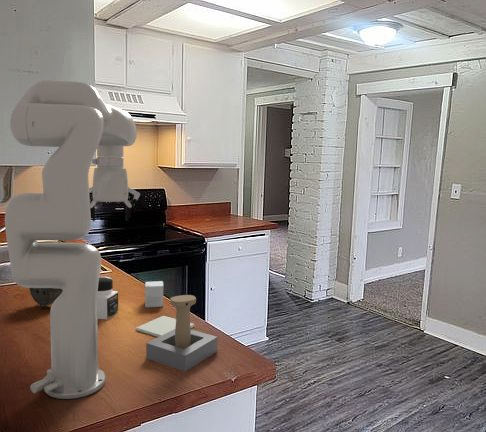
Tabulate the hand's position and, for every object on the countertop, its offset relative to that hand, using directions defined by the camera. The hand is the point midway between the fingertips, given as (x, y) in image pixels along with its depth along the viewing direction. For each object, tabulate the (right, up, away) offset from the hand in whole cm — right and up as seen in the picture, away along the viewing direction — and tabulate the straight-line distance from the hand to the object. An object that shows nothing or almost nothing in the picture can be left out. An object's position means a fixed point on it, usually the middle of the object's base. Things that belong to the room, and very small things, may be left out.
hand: (110, 220), depth 135 cm
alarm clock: (-24, -29, +10) cm, 39 cm away
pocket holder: (+24, -34, -20) cm, 47 cm away
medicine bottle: (-4, -30, +6) cm, 31 cm away
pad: (+17, -32, -3) cm, 36 cm away
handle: (+24, -35, -20) cm, 47 cm away
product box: (+10, -29, +17) cm, 35 cm away
